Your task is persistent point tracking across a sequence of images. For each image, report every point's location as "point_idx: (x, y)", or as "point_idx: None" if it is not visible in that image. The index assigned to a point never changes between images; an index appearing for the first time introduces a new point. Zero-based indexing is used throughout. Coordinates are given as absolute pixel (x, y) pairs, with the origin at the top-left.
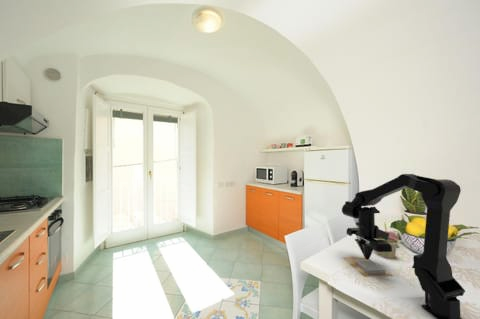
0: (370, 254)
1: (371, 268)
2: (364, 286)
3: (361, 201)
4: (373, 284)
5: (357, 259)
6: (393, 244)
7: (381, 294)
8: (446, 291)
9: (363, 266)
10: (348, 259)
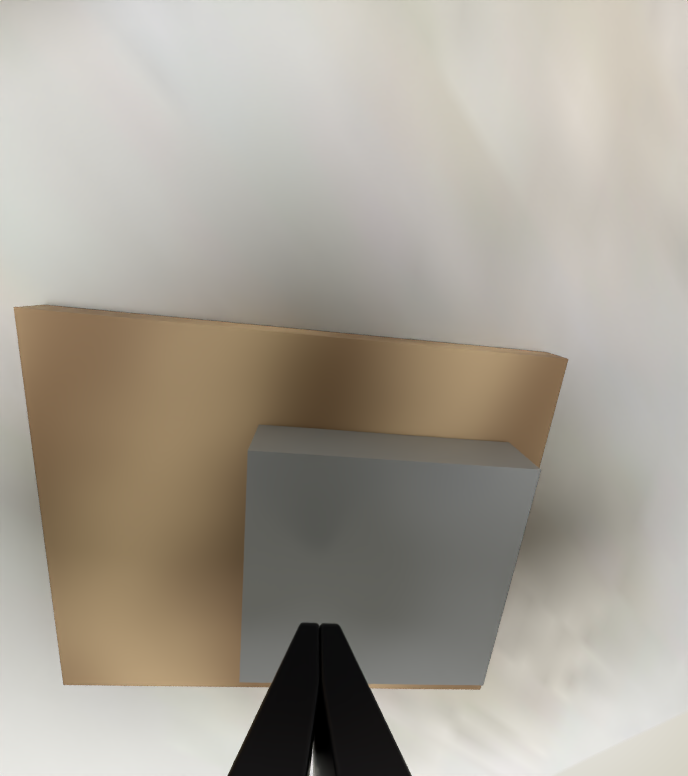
0: (394, 757)
1: (460, 623)
2: (549, 716)
3: None
4: (552, 637)
5: (102, 522)
6: None
7: (664, 666)
8: None
9: (395, 682)
10: (106, 635)
